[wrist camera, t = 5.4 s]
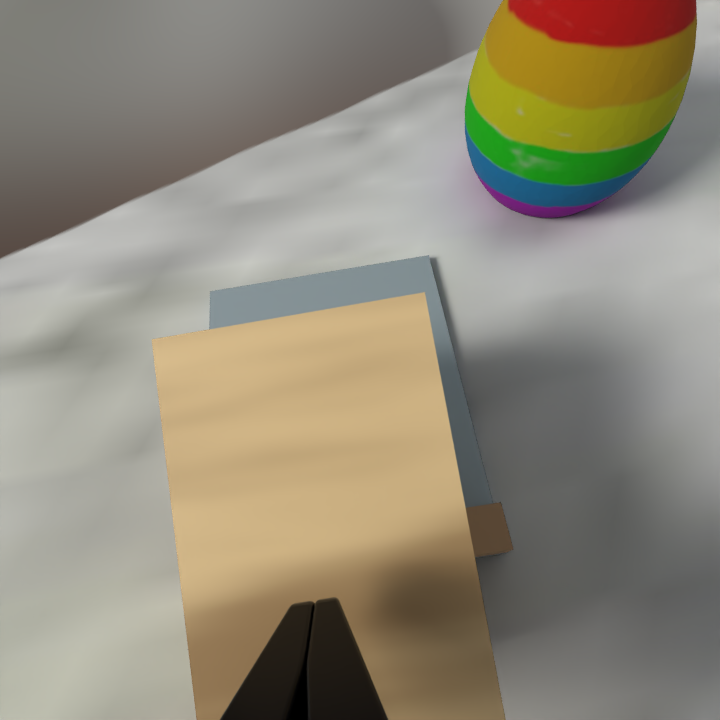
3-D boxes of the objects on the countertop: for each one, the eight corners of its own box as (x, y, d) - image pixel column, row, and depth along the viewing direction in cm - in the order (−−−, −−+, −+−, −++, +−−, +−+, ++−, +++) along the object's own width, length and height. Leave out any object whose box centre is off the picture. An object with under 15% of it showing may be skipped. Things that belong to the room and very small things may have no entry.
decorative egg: (535, 270, 20) (633, 21, 12) (424, 167, 24) (434, -86, 15) (669, 187, 22) (848, -91, 13) (546, 101, 25) (622, -165, 17)
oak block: (519, 797, 9) (424, 292, 10) (211, 845, 9) (151, 339, 10) (468, 659, 14) (408, 331, 15) (270, 690, 14) (225, 363, 15)
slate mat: (504, 553, 15) (513, 549, 14) (208, 599, 16) (189, 598, 14) (428, 259, 21) (429, 237, 20) (212, 295, 21) (199, 275, 20)
